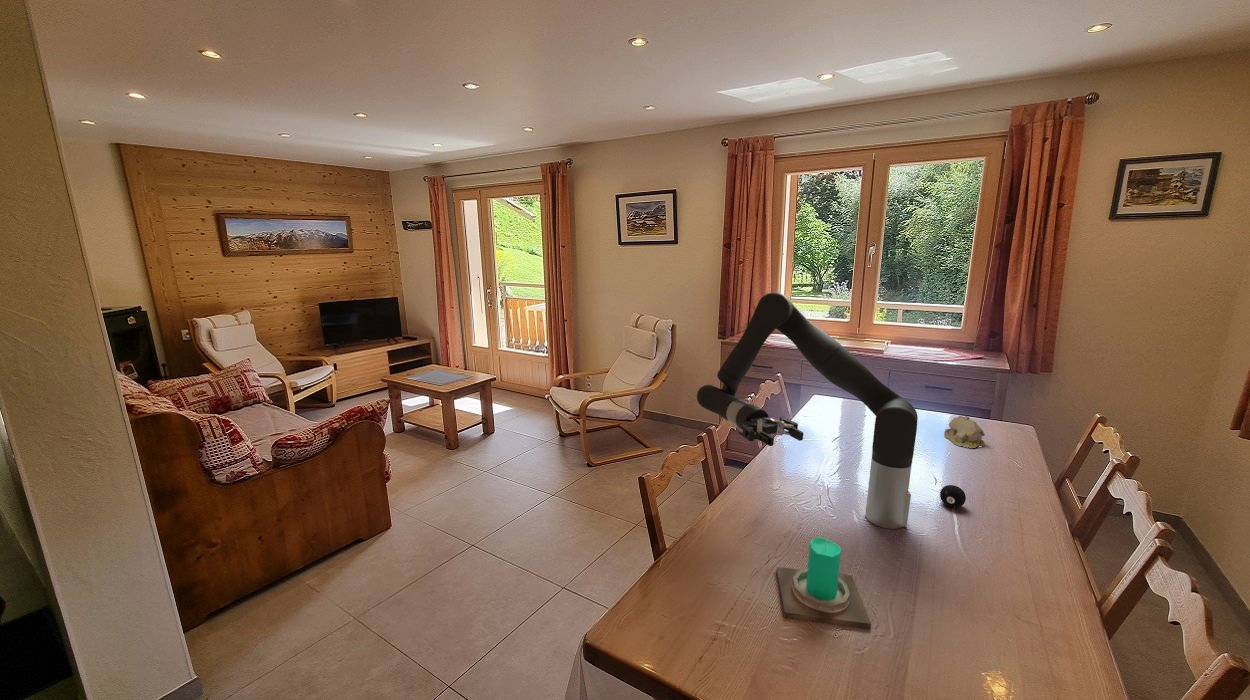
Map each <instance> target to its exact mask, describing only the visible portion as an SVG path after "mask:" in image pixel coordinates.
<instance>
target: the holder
mask: <svg viewBox="0 0 1250 700" xmlns="http://www.w3.org/2000/svg"><path fill="white" fill-rule="evenodd" d="M775 571H776V577H777V582H778V588H779V594H780V595H779V596H780V600H781V605H782V612H783V617H784V618H786V619H792V620H793V619H794V620H800V621H801V620H802V621H809V622H815V623H821V624H822V623H823V624H829V625H831V624H832V625H836V626H837V625H838V626H844V627H852V628H853V627H854V628H861V629H868V630H871V628H872V621H871V619H870V617H869V615H868V612H867V610H866V607H865V605H864V601H863V600H862V597H861V594H860V592H859V590H858V587H857V585H856V582H855V580H854V577H853V575H851V574H842V573H839V578H838V588H837V595H836V597H835V599H833V600H830V601H825V600H820V599H817V598H815V597H813V596H812V595H811V594H810V593H809V592H808V591H807V588H806V583H807V571H808V567H807V568H803V569H799V568H789V567H784V566H783V567H781V566H776V570H775Z"/></svg>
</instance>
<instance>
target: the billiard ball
mask: <svg viewBox="0 0 1250 700" xmlns="http://www.w3.org/2000/svg"><path fill="white" fill-rule="evenodd" d="M939 497H940V500H941V502H942V503H943V504H944V505H946V506H948V507H950V508H960V507H962V506H964V504H965V503H966V499H967V495H966V493H965V491H964V490H963V489H962V487H961V488H960V487H959V486H957V485H954V484H952V485H951V484H947V485H944V486H943V487H942V488H941V490H940V491H939Z"/></svg>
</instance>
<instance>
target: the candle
mask: <svg viewBox="0 0 1250 700" xmlns="http://www.w3.org/2000/svg"><path fill="white" fill-rule="evenodd" d="M808 550H809V551H808V560H807V568H808V571H807V583H806V588H807V591H808V592H809V593H810V594H811V595H812V596H813V597H815V598H817V599H820V600H825V601H830V600H833V599H835V597H836V595H837V588H838V578H839V574H840V569H841V568H840V567H841V560H842V558H841V557H842V549H841V546H840V545H838V544H836V543H835V542H834V541H831V540H830V539H827V538H824V537H819V536H818V537H815V538H813V539H811V540H810V542H809V549H808Z"/></svg>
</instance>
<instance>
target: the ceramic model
mask: <svg viewBox="0 0 1250 700" xmlns="http://www.w3.org/2000/svg"><path fill="white" fill-rule="evenodd" d="M948 426H949V428H946V429H945V430H944V432H943V433H944V438H945V439H947V440H949V441H951V443H953V444H954V445H956V446H958V447H961V446H963V447H962V448H965V447H967V448H966V449H969V448H976V447H979V446H984V447H985V441H984V440H983V439H982V438H983V437H984V436H985V435H986V434H985V432H984V431H983V429H982V428H981V427H980V426H979V425H978V424H977V422H976V421H975V420H972V419H970V416H967V415H965V416H962V415H958V416H957V417H954V418H952V419H951V420H950V422H948ZM968 447H969V448H968ZM976 449H977V448H976Z"/></svg>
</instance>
